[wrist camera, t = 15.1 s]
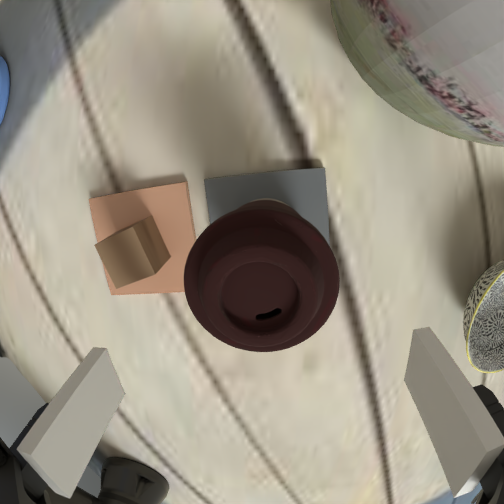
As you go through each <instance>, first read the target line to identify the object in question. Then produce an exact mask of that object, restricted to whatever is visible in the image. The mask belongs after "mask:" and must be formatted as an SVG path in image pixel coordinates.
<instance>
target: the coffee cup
mask: <svg viewBox="0 0 504 504" xmlns="http://www.w3.org/2000/svg"><path fill="white" fill-rule="evenodd" d="M184 290H185V295H186V298H187V301H188V305H189V307H190V309H191V311H192V313H193V314H194V316H195V317H196V319H197V320H198V321H199V323H200V324H201V325H202V326H203V327H204V328H205V329H206V330H207V331H208V332H209V333H210V334H212V335H213V336H214V337H216V338H217V339H219V340H221V341H222V342H224V343H226V344H228V345H230V346H233V347H235V348H239V349H243V350H247V351H255V352H272V351H279V350H283V349H287V348H290V347H292V346H295V345H297V344H299V343H301V342H303V341H305V340H306V339H308V338H310V337H311V336H312V335H313V334H315V333H316V332H317V331H318V330H319V329H320V328H321V327H322V326H323V325H324V324H325V322H326V321H327V319H328V318H329V316H330V315H331V313H332V311H333V309H334V307H335V304H336V301H337V297H338V293H339V270H338V266H337V262H336V259H335V257H334V254H333V252H332V250H331V248H330V246H329V244H328V243H327V241H326V239H325V238H324V236H323V235H322V234H321V233H320V232H319V230H318V229H317V228H316V227H315V226H313V225H312V224H311V223H310V222H309V221H307V220H306V219H304V218H303V217H301V215H300V214H299V213H298V212H297V211H295V210H294V209H293V208H291V207H290V206H289V205H287V204H286V203H284V202H282V201H279V200H276V199H271V198H262V199H257V200H253V201H251V202H249V203H247V204H244V205H242V206H241V207H239V208H238V209H236V210H234V211H231V212H229V213H227V214H225V215H223V216H221V217H220V218H218V219H217V220H215V221H214V222H213V223H211V224H210V225H209V226H208V227H207V228H206V229H205V230H204V231H203V232H202V234H201V235H200V236H199V238H198V239H197V240H196V241H195V243H194V245H193V246H192V248H191V250H190V252H189V254H188V257H187V260H186V264H185V268H184Z"/></svg>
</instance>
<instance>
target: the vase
mask: <svg viewBox="0 0 504 504" xmlns="http://www.w3.org/2000/svg"><path fill="white" fill-rule="evenodd" d="M330 1H331V11H332V16H333V20H334V23H335V26H336V30H337V33H338V36H339V40H340V42H341V44H342V46H343V48H344V50H345V52H346V54H347V56H348V58H349V60H350V62H351V63H352V64H353V66H354V67H355V69H356V70H357V71H358V73H359V74H360V76H361V77H362V79H363V80H364V81H365V82H366V83H367V84H368V85H369V86H370V87H371V88H372V89H373V90H374V91H375V93H376V94H377V95H379V96H380V97H381V98H382V99H384V100H385V101H386V102H387V103H389V104H390V105H391V106H392V107H393V108H395V109H396V110H398V111H400V112H401V113H403V114H405V115H406V116H408V117H410V118H411V119H413V120H414V121H416V122H418V123H420V124H422V125H425V126H427V127H430V128H432V129H434V130H437V131H439V132H442V133H444V134H446V135H449V136H452V137H456V138H459V139H464V140H469V141H473V142H478V143H482V144H487V145H492V146H501V147H504V0H330Z"/></svg>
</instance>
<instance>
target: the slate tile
mask: <svg viewBox="0 0 504 504" xmlns="http://www.w3.org/2000/svg"><path fill="white" fill-rule="evenodd" d="M204 182H205V190H206V197H207V204H208V211H209V218H210V224H211V223H213V222H214V221H215V220H217V219H218V218H220V217H221V216H223V215H225V214H227V213H229V212H231V211H234V210H236V209H238V208H239V207H241V206H242V205H244V204H247V203H249V202H251V201H253V200H257V199H262V198H271V199H276V200H279V201H282V202H284V203H286V204H287V205H289V206H290V207H291V208H293V209H294V210H295V211H297V212H298V213H299V214H300V215H301V217H303V218H304V219H306V220H307V221H309V222H310V223H311V224H312V225H313V226H315V227H316V228H317V229H318V230H319V232H320V233H321V234H322V235H323V236H324V238H325V239H326V241H327V243H328V244H329V222H328V205H327V190H326V177H325V168H324V167H321V168H307V169H294V170H282V171H271V172H261V173H252V174H242V175H234V176H225V177H217V178H209V179H205V180H204ZM329 246H330V244H329Z"/></svg>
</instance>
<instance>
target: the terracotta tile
mask: <svg viewBox="0 0 504 504" xmlns="http://www.w3.org/2000/svg"><path fill="white" fill-rule="evenodd" d="M89 203H90V209H91V214H92V219H93V223H94V228H95V233H96V237H97V242H98V243H99V242H100V241H102V240H104V239H105V238H107V237H108V236H110V235H112V234H113V233H115V232H117V231H119V230H121V229H123V228H125V227H128V226H130V225H132V224H134V223H136V222H138V221H140V220H143V219H145V218H147V217H149V216H151V215H152V216H153V218H154V221H155V223H156V225H157V227H158V230H159V232H160V234H161V236H162V238H163V241H164V243H165V245H166V247H167V249H168V251H169V254H170V256H171V258H170V259H169V260H168V261H167V262H166V263H165V264H164V265H163V267H162V268H161V269H160V270H159V271H158V272H157V273H156V274H155V275H153V276H150V277H147V278H144V279H142V280H139V281H136V282H134V283H131V284H128V285H126V286H123V287H120V288H118V289H116V287H115V285H114V283H113V282H112V280H111V278H110V276H109V274H108V272H107V270H106V268H105V266H104V264H103V266H104V270H105V274H106V278H107V281H108V285H109V288H110V292H111V295H126V294H150V293H170V292H185V290H184V268H185V264H186V260H187V257H188V254H189V252H190V250H191V248H192V246H193V245H194V243H195V241H196V235H195V229H194V223H193V217H192V210H191V204H190V197H189V190H188V183H187V182H181V183H174V184H168V185H161V186H155V187H149V188H143V189H137V190H132V191H126V192H121V193H115V194H110V195H105V196H100V197H95V198H91V199H89Z"/></svg>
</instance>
